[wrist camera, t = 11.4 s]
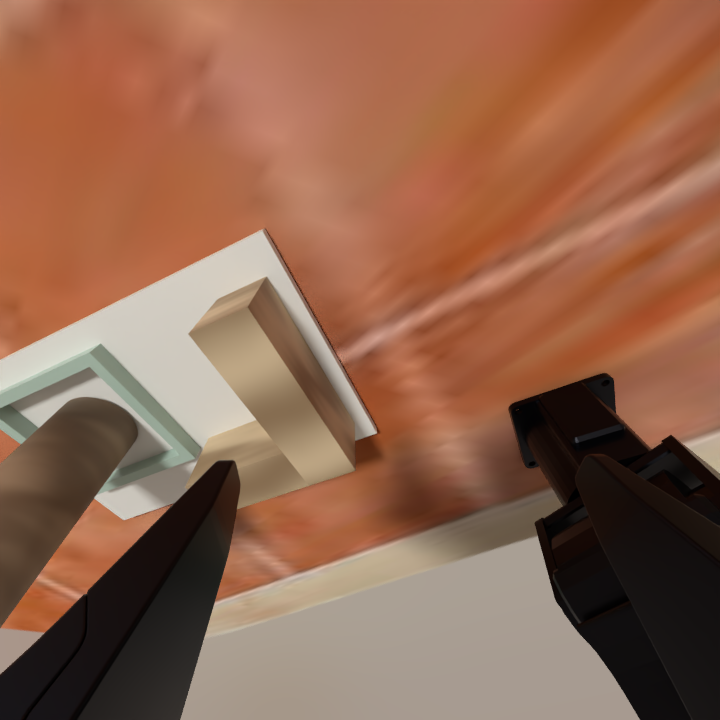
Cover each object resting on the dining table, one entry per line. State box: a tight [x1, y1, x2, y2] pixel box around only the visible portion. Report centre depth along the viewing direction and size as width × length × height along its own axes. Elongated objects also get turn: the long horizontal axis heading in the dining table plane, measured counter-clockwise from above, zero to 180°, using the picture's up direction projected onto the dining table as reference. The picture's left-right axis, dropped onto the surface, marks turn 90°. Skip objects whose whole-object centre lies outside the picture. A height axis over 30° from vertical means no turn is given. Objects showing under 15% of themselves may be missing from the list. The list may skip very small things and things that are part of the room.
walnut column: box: [0, 397, 138, 627], centre depth 17 cm, size 5×5×12 cm
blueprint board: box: [0, 228, 377, 520], centre depth 22 cm, size 14×22×2 cm, turn 114°
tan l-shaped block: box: [185, 276, 356, 509], centre depth 20 cm, size 11×10×4 cm
